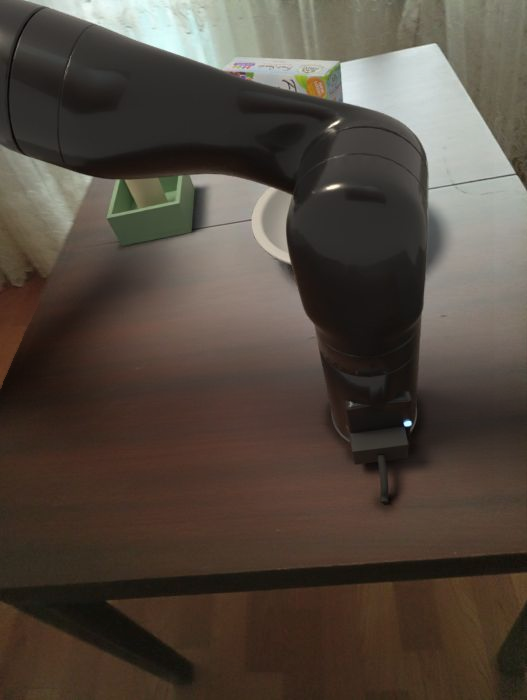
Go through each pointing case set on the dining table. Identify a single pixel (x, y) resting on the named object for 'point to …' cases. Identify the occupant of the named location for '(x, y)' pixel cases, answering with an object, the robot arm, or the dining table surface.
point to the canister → (147, 192)
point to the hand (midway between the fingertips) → (15, 90)
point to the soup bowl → (272, 223)
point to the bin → (152, 212)
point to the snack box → (292, 75)
